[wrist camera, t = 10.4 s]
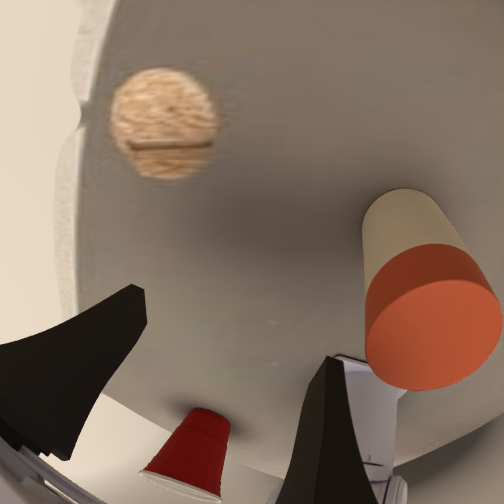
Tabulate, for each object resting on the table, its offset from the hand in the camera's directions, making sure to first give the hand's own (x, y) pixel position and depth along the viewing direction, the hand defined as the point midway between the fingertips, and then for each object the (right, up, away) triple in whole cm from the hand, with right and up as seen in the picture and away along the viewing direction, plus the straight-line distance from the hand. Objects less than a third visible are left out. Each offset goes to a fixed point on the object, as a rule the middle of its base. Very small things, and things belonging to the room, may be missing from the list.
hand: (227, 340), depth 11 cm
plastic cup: (-4, -19, +27) cm, 34 cm away
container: (+10, +4, +6) cm, 12 cm away
